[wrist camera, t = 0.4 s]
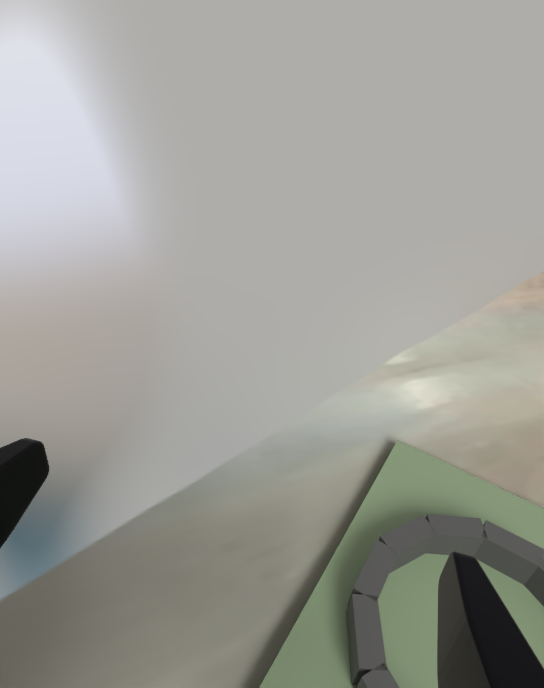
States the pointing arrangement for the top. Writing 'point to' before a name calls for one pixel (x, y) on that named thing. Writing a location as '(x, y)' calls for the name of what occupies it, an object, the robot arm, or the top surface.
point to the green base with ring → (411, 577)
